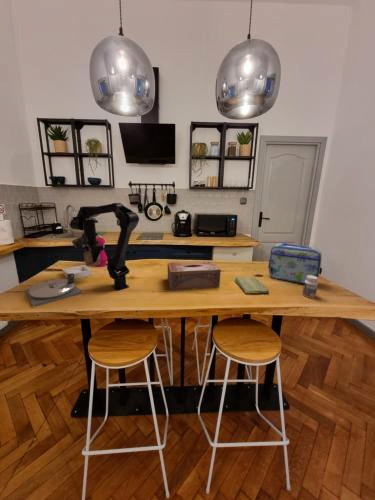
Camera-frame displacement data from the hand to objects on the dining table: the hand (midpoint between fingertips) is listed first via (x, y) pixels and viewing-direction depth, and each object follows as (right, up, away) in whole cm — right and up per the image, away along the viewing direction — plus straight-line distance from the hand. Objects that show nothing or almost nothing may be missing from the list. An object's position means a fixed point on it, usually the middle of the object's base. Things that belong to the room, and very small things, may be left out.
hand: (92, 260), depth 111 cm
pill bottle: (+110, -17, -7) cm, 111 cm away
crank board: (-13, -14, -11) cm, 23 cm away
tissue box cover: (+53, -13, +4) cm, 54 cm away
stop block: (0, -1, 0) cm, 2 cm away
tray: (-13, -9, +11) cm, 19 cm away
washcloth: (+84, -15, +1) cm, 85 cm away
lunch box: (+110, -12, +12) cm, 112 cm away
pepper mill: (-6, -5, +27) cm, 28 cm away
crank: (-13, -13, -11) cm, 22 cm away
